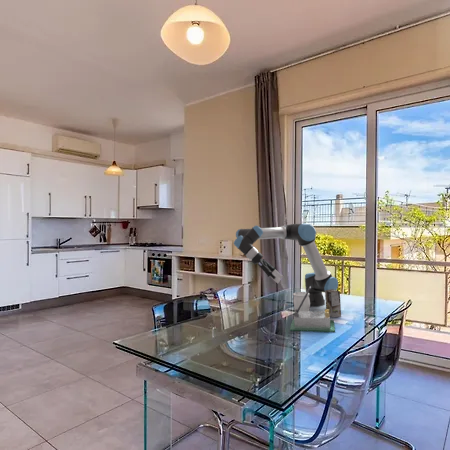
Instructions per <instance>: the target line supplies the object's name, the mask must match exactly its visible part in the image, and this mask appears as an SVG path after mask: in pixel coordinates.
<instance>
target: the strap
mask: <svg viewBox="0 0 450 450" xmlns="http://www.w3.org/2000/svg"><path fill="white" fill-rule="evenodd" d="M310 289H311V286H310V287H309V289H308V291H307V293H306V294H305V296H304V298H303V300H302V302H301V304H300V306H299V307H298V309H297V311H296V312H299V310H300V308H301V306H302V304H303V302H304V300H305V299H306V297H307V295H308V293H309V291H310Z"/></svg>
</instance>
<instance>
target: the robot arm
mask: <svg viewBox="0 0 450 450" xmlns="http://www.w3.org/2000/svg"><path fill="white" fill-rule="evenodd" d="M316 234H317V231H316V228H315V226H314V225H312V224H310V223H307V222H306V223H292V224H286V225H280V226H279V227H276V226H275V227H260V226H259V225H254V226H252V228H240V229H238V230H237V231H236V232H235V237H236V238H235V240H234V241H233V245H234V246H235V247H236V248H237V249H238V250H239V251H240V252H241V253H242V254H243V255H244V256H245V257H246V259H249V260H250V261H251V263H252V264H254V265H258V266H259V268H260V269H262V271H263V272H264V273H265V275H266V276H267V277H268V278H271V279H272V280H273V281H274V282H275V283H276V284H279V283H280V282H281V279H282V278H283V277H284V276H283V275H282V274H281V273H280V272H279V271H278V270H276V267H275V266H273V265H271V263H269V262H268V261H267V260H266V259H264V258H263V257H264V254H262V253H261V252H260V251H259V250H258V249H257V248H256V247H255V246H254V244H255V243H256V241H258V240H269V239H270V240H271V239H281V240H291V241H297V243H298V245H299V246H300V247H302V249H303V251H304V252H305V255H306V257H307V259H308V262H309V263H310V266H311V267H312V271H313V272H306V273H305V274H304V284H305V292H307V291H308V289H309V287H310V286H311V289H310V291H309V299H310V307H318V306H319V307H320V306H325V305H326V300H325V296H324V295H323V293H325V290H330V289H334V290H337V289H338V287H339V281H338V278H336V277H334V276H333V275H332V272H331V271H330V270H327V267H326V265H325V263H324V260H323V258H322V255H321V253H320V251H319V249H318V247H317V245H316V242H315V241H316Z"/></svg>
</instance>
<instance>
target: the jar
mask: <svg viewBox="0 0 450 450" xmlns="http://www.w3.org/2000/svg"><path fill="white" fill-rule="evenodd" d="M306 293H307V292H306V291H297V292H296V291H295V292H293V293H292V295H293V300H292V301H293V307H294V311H295V312H296V309H298V307H299V306H300V304H301V302H302V300H303V298H304V296H305V294H306ZM310 307H311V306H310V299H309V293H308V295H307V297H306V299H305V300H304V302H303V304H302V306H301V308H300V310H299V311H310ZM295 312H294V313H295Z"/></svg>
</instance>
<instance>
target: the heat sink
mask: <svg viewBox="0 0 450 450" xmlns="http://www.w3.org/2000/svg"><path fill="white" fill-rule="evenodd" d="M296 311H297V309H296ZM330 318H331V316H330V314H329V309H326V308H325V309H324V311H318V310H316V311H314V310H313V311H312V310H309V311H299V312H294V316H293V318H292V321H291V324H290V328H289V331H290V332H310V333H311V332H313V333H317V332H318V333H336V326H335V319H330Z"/></svg>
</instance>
